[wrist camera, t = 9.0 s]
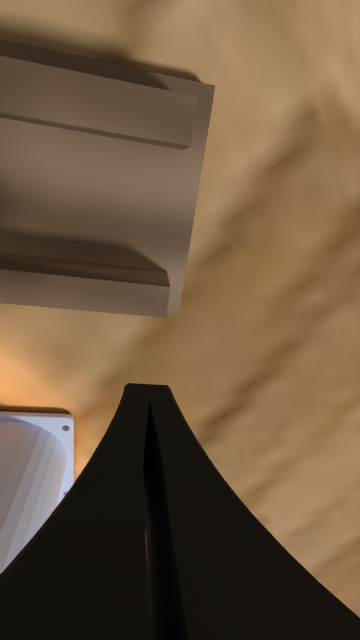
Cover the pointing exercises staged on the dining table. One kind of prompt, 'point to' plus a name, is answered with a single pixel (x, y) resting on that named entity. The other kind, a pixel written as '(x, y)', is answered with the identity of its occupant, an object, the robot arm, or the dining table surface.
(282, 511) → the dining table surface
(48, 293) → the taupe railed channel
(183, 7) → the dining table surface
